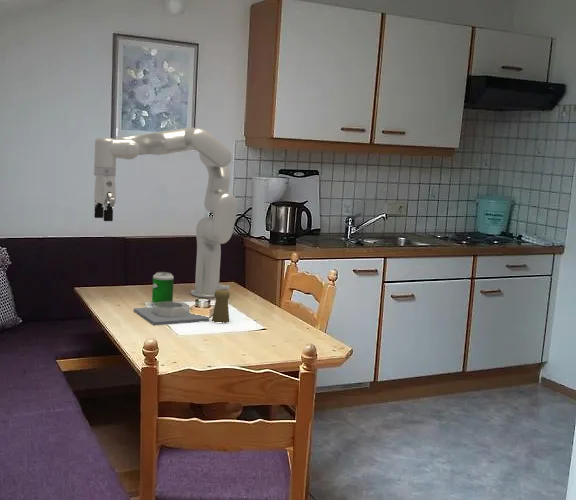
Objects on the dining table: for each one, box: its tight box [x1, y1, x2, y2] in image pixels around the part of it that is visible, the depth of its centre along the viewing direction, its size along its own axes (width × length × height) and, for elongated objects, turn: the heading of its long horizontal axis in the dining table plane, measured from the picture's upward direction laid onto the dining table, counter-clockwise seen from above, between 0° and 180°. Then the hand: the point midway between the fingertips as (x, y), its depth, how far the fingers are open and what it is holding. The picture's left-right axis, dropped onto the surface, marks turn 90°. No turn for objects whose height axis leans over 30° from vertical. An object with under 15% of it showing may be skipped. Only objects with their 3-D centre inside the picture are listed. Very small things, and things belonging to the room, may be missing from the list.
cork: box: [211, 290, 231, 324], centre depth 246 cm, size 6×6×11 cm
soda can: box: [151, 271, 175, 305], centre depth 263 cm, size 8×8×12 cm
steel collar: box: [152, 300, 190, 318], centre depth 248 cm, size 12×12×3 cm
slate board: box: [133, 306, 210, 326], centre depth 248 cm, size 20×20×1 cm
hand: (103, 219), depth 258 cm, fingers open, 9 cm apart
